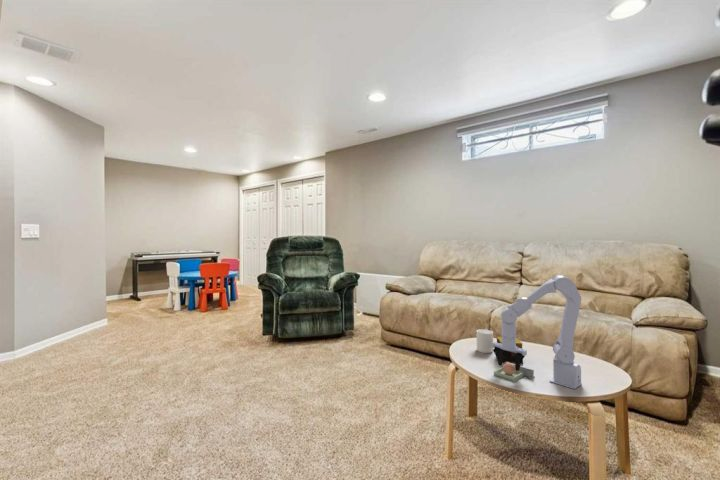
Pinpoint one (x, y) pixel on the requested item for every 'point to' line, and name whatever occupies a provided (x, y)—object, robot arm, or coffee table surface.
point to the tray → (512, 377)
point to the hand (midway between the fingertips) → (508, 367)
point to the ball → (509, 368)
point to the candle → (509, 355)
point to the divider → (526, 371)
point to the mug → (484, 341)
